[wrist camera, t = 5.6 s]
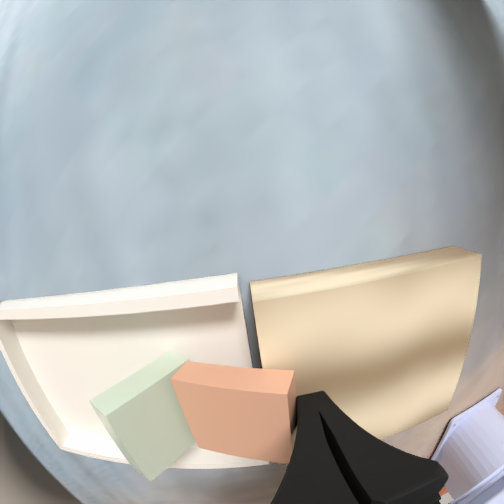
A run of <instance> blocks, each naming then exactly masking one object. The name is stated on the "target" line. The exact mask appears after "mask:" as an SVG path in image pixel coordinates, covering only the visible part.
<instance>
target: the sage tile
mask: <svg viewBox="0 0 504 504" xmlns="http://www.w3.org/2000/svg"><path fill="white" fill-rule="evenodd" d="M186 361H189V359H187V358H184V357H182V356H179V355H176V354H173V353H171V352H167V353H165V354H164V355H162V356H160V357H159V358H157V359H156V360H154V361H153V362H151V363H149V364H148V365H146V366H145V367H143V368H142V369H140V370H138V371H137V372H135V373H134V374H132V375H130V376H129V377H127V378H126V379H124V380H122V381H121V382H119V383H117V384H116V385H114V386H113V387H111V388H109V389H108V390H106V391H104V392H103V393H101V394H99V395H98V396H96V397H94V398H93V399H91V400H89V401H90V403H91V405H92V407H93V409H94V410H95V412H96V414H97V415H98V417H99V419H100V420H101V422H102V424H103V425H104V427H105V429H106V430H107V432H108V433H109V435H110V436H111V438H112V439H113V441H114V442H115V444H116V445H117V447H118V448H119V450H120V451H121V452H122V454H123V455H124V457H125V458H126V459H127V461H128V462H129V463H130V465H131V466H132V467H133V468H134V469H135V470H136V471H138V472H139V473H140V474H141V475H143V476H144V477H145V478H146V479H148V480H149V481H150V482H151V481H152V480H153V479H154V478H156V477H157V476H158V475H159V474H161V473H162V472H163V471H164V470H165V469H167V468H168V467H169V466H170V465H171V464H172V463H174V462H175V461H176V460H177V459H178V458H179V457H180V456H182V455H183V454H184V453H185V452H186V451H187V450H188V449H189V448H190V447H192V446H193V445H194V444H195V443H196V441H195V439H194V437H193V434H192V432H191V430H190V428H189V425H188V423H187V420H186V418H185V416H184V413H183V411H182V408H181V406H180V403H179V401H178V398H177V395H176V393H175V390H174V387H173V385H172V382H171V378H172V377H173V376H174V374H175V373H176V372H177V371H178V370H179V369H180V368H181V367H182V366H183V365H184V363H185V362H186Z"/></svg>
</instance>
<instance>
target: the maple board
mask: <svg viewBox="0 0 504 504" xmlns="http://www.w3.org/2000/svg"><path fill="white" fill-rule="evenodd" d="M481 261H482V255H481V254H478V253H475V252H472V251H468V250H465V249H462V248H459V247H456V246H451V247H446V248H441V249H436V250H431V251H426V252H421V253H416V254H411V255H406V256H401V257H395V258H390V259H384V260H379V261H374V262H368V263H362V264H357V265H351V266H345V267H339V268H333V269H327V270H321V271H315V272H309V273H303V274H296V275H290V276H284V277H277V278H270V279H264V280H257V281H250V287H251V295H252V302H253V309H254V316H255V322H256V329H257V336H258V342H259V349H260V356H261V362H262V369H276V370H295V383H296V397H297V396H299V395H304V394H309V393H314V392H319V391H324V392H326V394H327V395H328V396H329V397H330V398H331V399H332V401H333V402H334V403H335V404H336V405H337V406H338V407H339V408H340V409H341V410H342V411H343V412H344V413H345V414H346V415H347V416H349V417H350V418H351V419H352V420H353V421H354V422H355V423H357V424H358V425H359V426H360V427H362V428H363V429H364V430H366V431H367V432H369V433H370V434H372V435H373V436H375V437H376V438H378V439H383V438H386V437H389V436H391V435H394V434H396V433H399V432H401V431H404V430H406V429H408V428H411V427H413V426H415V425H418V424H420V423H422V422H424V421H426V420H428V419H430V418H433V417H435V416H437V415H439V414H440V413H442V412H444V411H446V410H448V407H449V405H450V402H451V399H452V397H453V394H454V391H455V388H456V385H457V382H458V379H459V376H460V373H461V370H462V366H463V363H464V359H465V355H466V352H467V348H468V344H469V340H470V335H471V331H472V326H473V321H474V316H475V310H476V304H477V297H478V290H479V282H480V273H481ZM277 464H278V465H282V464H288V463H278V462H277Z"/></svg>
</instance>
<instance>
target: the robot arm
mask: <svg viewBox="0 0 504 504" xmlns="http://www.w3.org/2000/svg"><path fill="white" fill-rule="evenodd" d="M501 392H502V389H501V388H499V389H497V390H496V391H495V392H493V393H492V394H490V395H489V396H488V397H486V398H485V399H483V400H482V401H480V402H479V403H477V404H475V405H474V406H472V407H471V408H469V409H467V410H466V411H464V412H463V413H461V414H459V415H457V416H456V417H454V418H453V419H452V420H451V421H450V422H449V425H448V427H447V429H446V431H445V433H444V435H443V437H442V439H441V441H440V443H439V445H438V447H437V449H436V451H435V453H434V454H433V456H432V458H431V460H430V459H426V458H421V457H418V456H415V455H412V454H409V453H406V452H404V451H402V450H399V449H397V448H395V447H393V446H391V445H389V444H387V443H385V442H383V441H381V440H380V439H378V438H376V437H375V436H373V435H372V434H370V433H369V432H367V431H366V430H364V429H363V428H362V427H360V426H359V425H358V424H357V423H355V422H354V421H353V420H352V419H351V418H350V417H349V416H347V415H346V414H345V413H344V412H343V411H342V410H341V409H340V408H339V407H338V406H337V405H336V404H335V403H334V402H333V401H332V399H331V398H330V397H329V396H328V395H327V394H326V392H324V391H319V392H314V393H309V394H304V395H299V396H297V397H296V410H297V431H296V437H295V442H294V447H293V451H292V455H291V458H290V462H289V465H288V467H287V470H286V473H285V475H284V478H283V480H282V482H281V485H280V487H279V489H278V491H277V493H276V495H275V497H274V498H273V500H272V502H271V503H270V504H440V502H439V500H440V499H441V497H440V495H439V493H438V492H439V491H440V490H441V489H442V487H443V486H444V485H445V487H446V489H447V490H448V492H449V493H450V495H451V496H452V498H453V499H454V501H452V502H450V503H448V504H504V416H503V415H502V414H501V413H500V412H499V411H498V410H497V409H496V408H495V405H496V403H497V401H498V399H499V396H500V394H501Z"/></svg>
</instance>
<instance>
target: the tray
mask: <svg viewBox="0 0 504 504" xmlns="http://www.w3.org/2000/svg"><path fill="white" fill-rule="evenodd" d="M0 349H1V351H2V353H3V356H4V358H5V360H6V362H7V364H8V366H9V368H10V370H11V372H12V374H13V376H14V378H15V380H16V382H17V384H18V386H19V387H20V389H21V391H22V393H23V394H24V396H25V398H26V400H27V401H28V403H29V405H30V406H31V408H32V409H33V411H34V412H35V414H36V416H37V417H38V419H39V420H40V422H41V423H42V425H43V426H44V427H45V429H46V430H47V432H48V433H49V434H50V436H51V437H52V439H53V440H54V441H55V443H56V444H57V445H58V446H59V448H60V449H62V450H65V451H69V452H73V453H76V454H80V455H84V456H89V457H93V458H98V459H103V460H108V461H114V462H120V463H127V464H130V463H129V462H128V461H127V459H126V458H125V457H124V455H123V454H122V452H121V451H120V450H119V448H118V447H117V445H116V444H115V442H114V441H113V439H112V438H111V436H110V435H109V433H108V432H107V430H106V429H105V427H104V425H103V424H102V422H101V420H100V419H99V417H98V415H97V414H96V412H95V410H94V409H93V407H92V405H91V403H90V401H89V400H91V399H93V398H94V397H96V396H98V395H99V394H101V393H103V392H104V391H106V390H108V389H109V388H111V387H113V386H114V385H116V384H117V383H119V382H121V381H122V380H124V379H126V378H127V377H129V376H130V375H132V374H134V373H135V372H137V371H138V370H140V369H142V368H143V367H145V366H146V365H148V364H149V363H151V362H153V361H154V360H156V359H157V358H159V357H160V356H162V355H164V354H165V353H167V352H171V353H173V354H176V355H179V356H182V357H184V358H187V359H189V361H191V362H199V363H206V364H215V365H224V366H234V367H245V368H253V365H252V359H251V353H250V348H249V342H248V336H247V330H246V324H245V318H244V312H243V305H242V299H241V293H240V287H239V280H238V274H237V273H231V274H224V275H217V276H210V277H202V278H195V279H187V280H180V281H172V282H164V283H157V284H149V285H141V286H132V287H124V288H116V289H107V290H99V291H90V292H81V293H72V294H62V295H53V296H43V297H33V298H23V299H12V300H3V301H2V302H0ZM267 464H269V461H262V460H255V459H249V458H243V457H238V456H233V455H228V454H223V453H218V452H214V451H210V450H206V449H202V448H198V446H197V443H195V444H194V445H193V446H192V447H190V448H189V449H188V450H187V451H186V452H185V453H184V454H183V455H182V456H180V457H179V458H178V459H177V460H176V461H175V462H174V463H172V464H171V465H170V466H169V467H168V468H185V469H214V468H235V467H248V466H258V465H267Z"/></svg>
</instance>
